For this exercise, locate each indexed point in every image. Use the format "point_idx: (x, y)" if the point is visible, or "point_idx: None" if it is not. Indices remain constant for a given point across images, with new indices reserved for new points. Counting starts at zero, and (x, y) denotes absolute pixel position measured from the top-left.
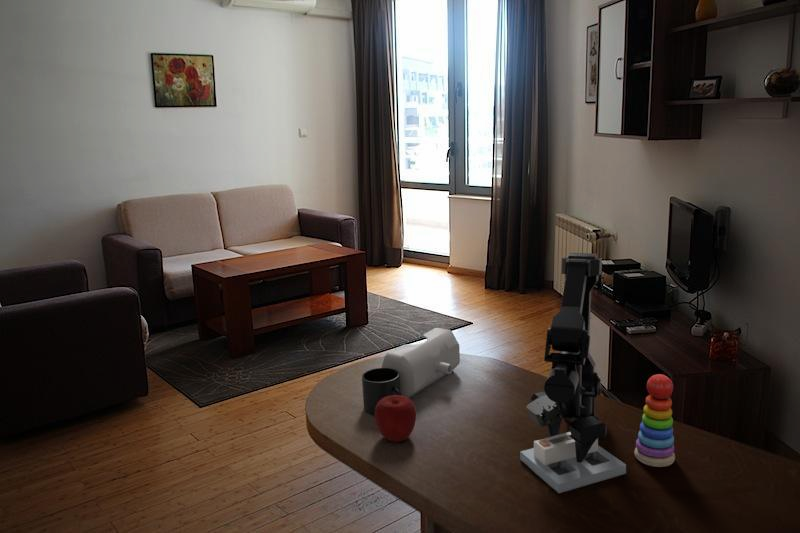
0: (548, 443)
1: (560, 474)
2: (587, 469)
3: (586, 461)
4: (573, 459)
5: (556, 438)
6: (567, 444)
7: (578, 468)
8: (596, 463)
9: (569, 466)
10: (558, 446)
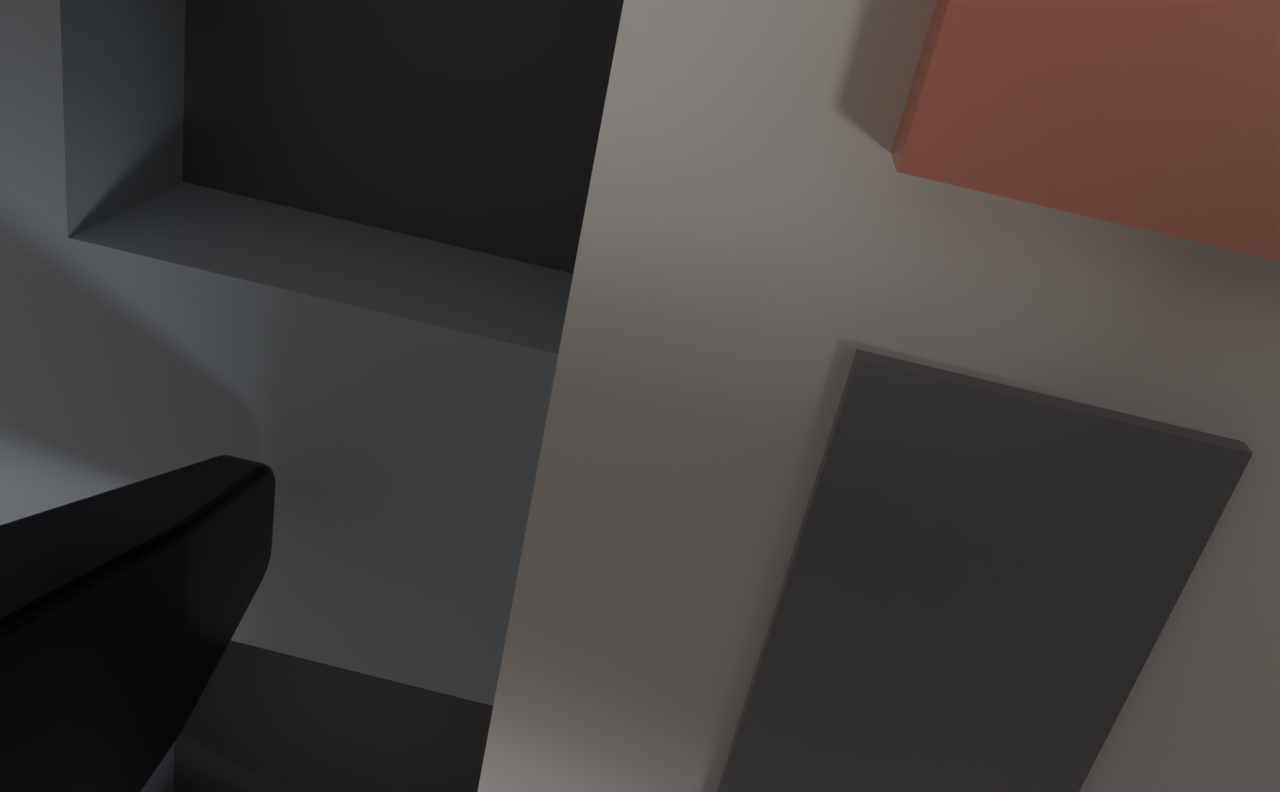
0: (983, 127)
1: (490, 4)
2: (5, 428)
3: (278, 650)
4: (497, 530)
5: (1052, 777)
6: (498, 733)
7: (121, 313)
8: (404, 787)
9: (421, 291)
10: (557, 376)
